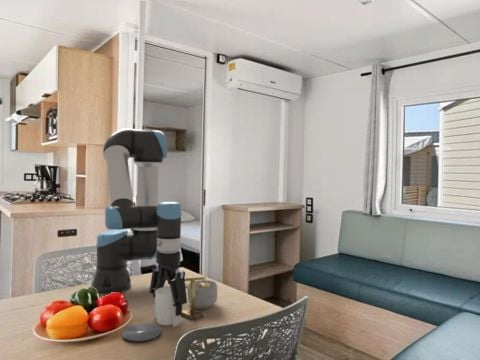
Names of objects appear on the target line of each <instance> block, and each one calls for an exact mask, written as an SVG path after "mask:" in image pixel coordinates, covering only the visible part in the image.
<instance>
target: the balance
mask: <svg viewBox="0 0 480 360" xmlns="http://www.w3.org/2000/svg"><path fill="white" fill-rule="evenodd" d="M205 279H206V280H207V278H206V276H204V275H203V276H194V277H185V282H188V281H189V283H190V303H189V308H187V309H185V310H182V314H181V317H184V318H186V319H189V320H191V321H194V322H196V321H199V320H202V319H203V318H205V317H204V316H205V314H204V313H203V312H200V311H197V310H195V309H196V308H195V281H200V280H204V281H205ZM185 287H186V289H187V288H188V284H187V283H185ZM198 287H200V288H208V287H210V283H205V282H203V283H199V284H198Z"/></svg>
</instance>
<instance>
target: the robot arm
mask: <svg viewBox="0 0 480 360" xmlns="http://www.w3.org/2000/svg"><path fill="white" fill-rule="evenodd" d="M167 144H168V143H167V139H166V137H165V133H163V131H161V130H154V129H137V128H122V129H119V130H117V131H115V132H113V133H111V135H110V136H108V138H107V139H106V141H105V142H104V146H103V151H102V152H103V153H102V154H103V159H104V160H105V162H106V165H107V169H106V170H107V179H108V190H109V204H110V206H106V207H105V209H104V223H105V225H104V226H105V228H106V229H107V230H105V231H103V232H100V233H98V235H97V236H96V237H97V238H96V266H95V267H96V269H95V273H94V276H93V278H92V282H91V288H92V287H94V288H96V289H97V290H98V292H99V293H98V294H104V295H105V294H112V293H111V292H117V293H121V292H124V291H127V290H129V289H130V288H131V287H132V279H131V277H130V273H129V270H128V264H127V262H131V261H142V260H143V261H144V260H153V259H155V260H156V261H155V262H156V263H155V264H152V265H151V269H152V270H151V271H152V273H151V277H150V278H151V280H150V285H149V294H152V297H153V307H154V309H153V310H154V311H153V313H154V315H153V318H155V319H157V316H156V302H155V290H156V289H159V288H162V287H165V283H166V281H167V284H168V285H169V287H170V288H171V291H172V295H173V299H174V303H175V304H174V305H173V321H172V327H176V326H179V325H181V322H182V321H181V320H182V316H181V314H182V311H183V305H185V304H187V303H188V295H187V288H186V287H185V284H186V281H185V278H186V272H185V270H183V271H181V270H179V263H180V262H181V251H180V250H181V247H182V246H181V232H182V230H181V229H182V227H181V226H182V205H181V203H180V202H176V201H160V202H159V168H160V166H161V165H162V164H163V160H165V159H167V156H168V145H167ZM130 158H132V159H133V163H134V164H135V165H136V166H137V170H136V171H137V176H136V177H137V181H136V184H137V185H136V205H134V197H133V189H132V181H131V175H130V174H131V173H130V169H129V168H130V166H129V159H130ZM128 230H132V231H129V232H128Z"/></svg>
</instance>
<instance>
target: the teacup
mask: <svg viewBox="0 0 480 360" xmlns="http://www.w3.org/2000/svg"><path fill="white" fill-rule="evenodd" d="M203 282H205V283H210V287H208V288H200V287H198V284H199V283H203ZM187 285H188V288H186V290H187V302H188V303H189V304H190V282H189V283H188V284H187ZM217 299H218V282H216V281H215V280H210V279H209V280H208V279H207V278H206V279H205V281H204V280H195V309H197V310H207V309H210V308H211V307H213V305H215V303H216V302H217Z"/></svg>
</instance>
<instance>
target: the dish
mask: <svg viewBox="0 0 480 360" xmlns="http://www.w3.org/2000/svg"><path fill="white" fill-rule="evenodd" d="M161 332H162V327H161V325H160V324H158V323H153V322H138V323H133V324H131V325H129V326H126V327H125V328H124V329H122V333H121V334H122V337H123V338H124V339H125V340H127V341H131V342H135V343H136V342H137V343H139V342H142V343H143V342H147V341H150V340H153V339H155V338H157V337H158V336H159V335H161Z"/></svg>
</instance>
